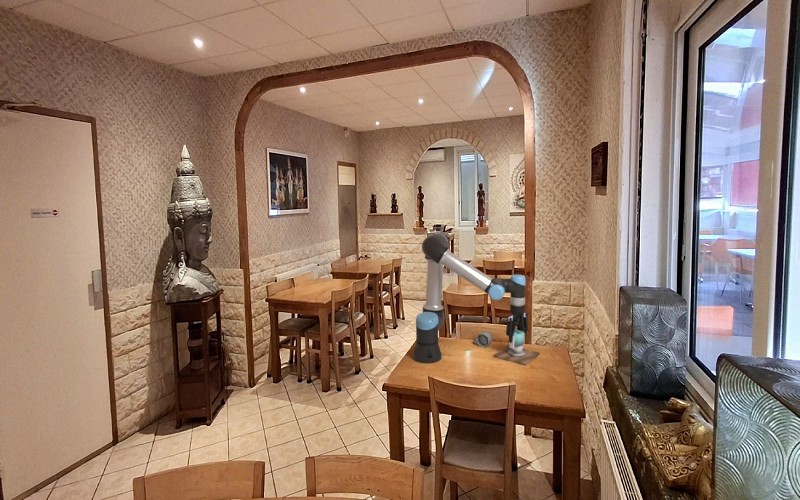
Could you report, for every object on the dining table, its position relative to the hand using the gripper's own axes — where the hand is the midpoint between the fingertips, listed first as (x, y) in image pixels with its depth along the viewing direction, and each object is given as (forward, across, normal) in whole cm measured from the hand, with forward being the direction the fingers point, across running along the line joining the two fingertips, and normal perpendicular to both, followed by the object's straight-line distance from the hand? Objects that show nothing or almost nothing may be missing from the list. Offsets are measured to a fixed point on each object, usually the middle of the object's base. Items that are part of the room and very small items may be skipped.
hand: (516, 346), depth 221 cm
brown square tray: (+5, 0, 0) cm, 5 cm away
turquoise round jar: (-2, 0, 0) cm, 2 cm away
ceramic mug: (+6, -3, +23) cm, 23 cm away
